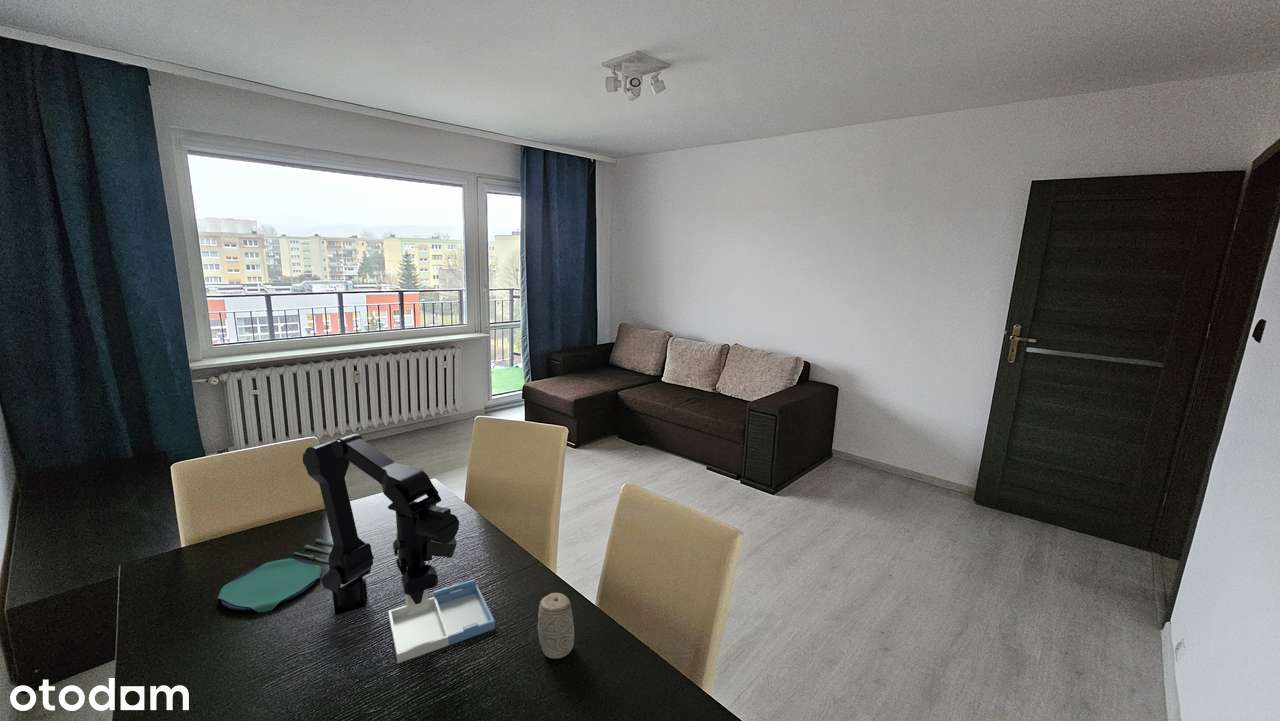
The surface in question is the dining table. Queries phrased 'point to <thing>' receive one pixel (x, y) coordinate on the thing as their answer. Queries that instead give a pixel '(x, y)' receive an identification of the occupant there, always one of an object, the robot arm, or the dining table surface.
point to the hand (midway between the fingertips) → (416, 597)
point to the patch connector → (417, 607)
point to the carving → (555, 625)
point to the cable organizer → (441, 621)
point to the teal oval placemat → (272, 582)
